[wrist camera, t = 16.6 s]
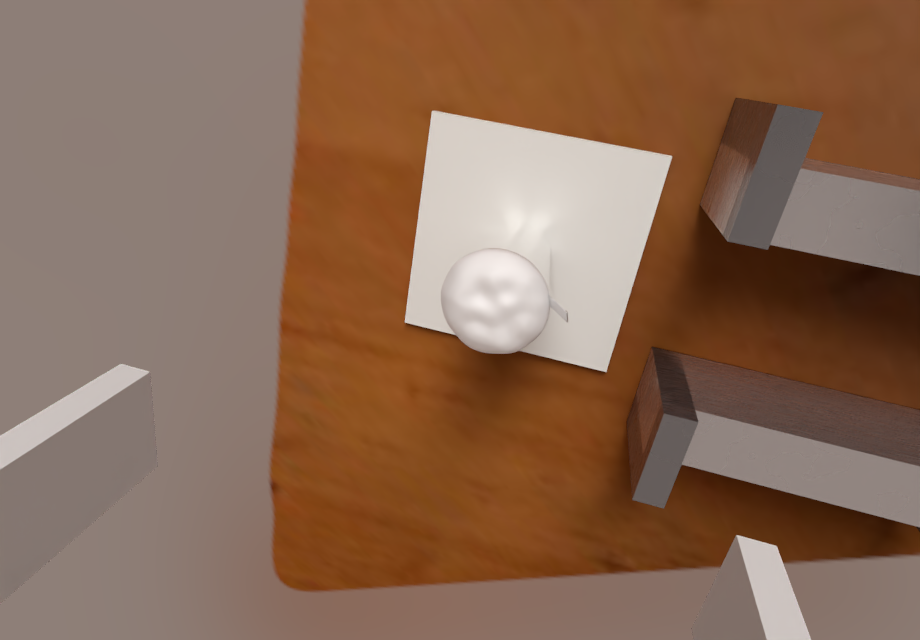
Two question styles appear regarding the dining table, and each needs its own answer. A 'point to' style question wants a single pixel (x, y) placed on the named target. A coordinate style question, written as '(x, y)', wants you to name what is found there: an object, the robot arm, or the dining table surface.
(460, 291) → the milkshake
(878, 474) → the brackets
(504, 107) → the dining table surface
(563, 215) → the pad
